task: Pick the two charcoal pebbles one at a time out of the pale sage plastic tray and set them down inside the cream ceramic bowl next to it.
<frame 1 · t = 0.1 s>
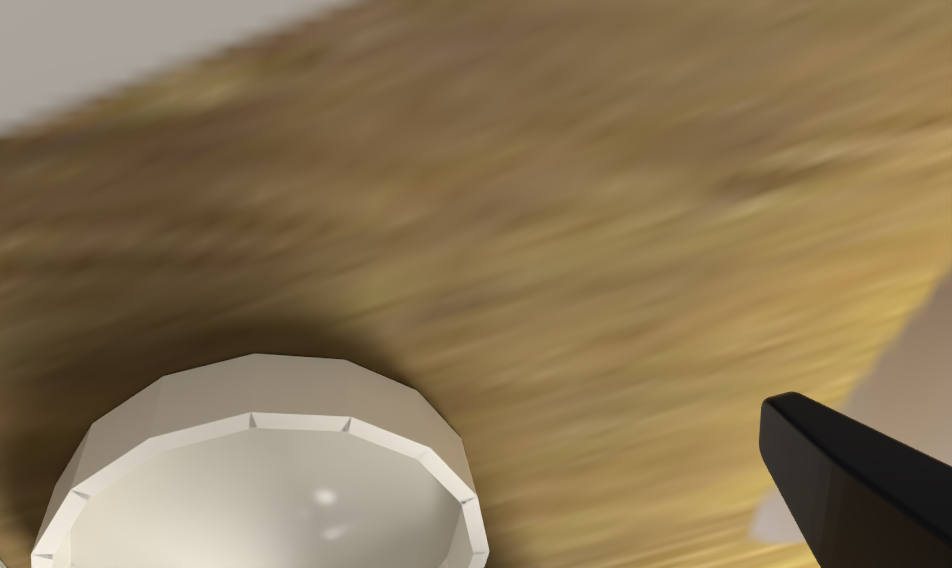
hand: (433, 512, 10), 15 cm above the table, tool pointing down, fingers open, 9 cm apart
bowl: (276, 517, 29), on the table
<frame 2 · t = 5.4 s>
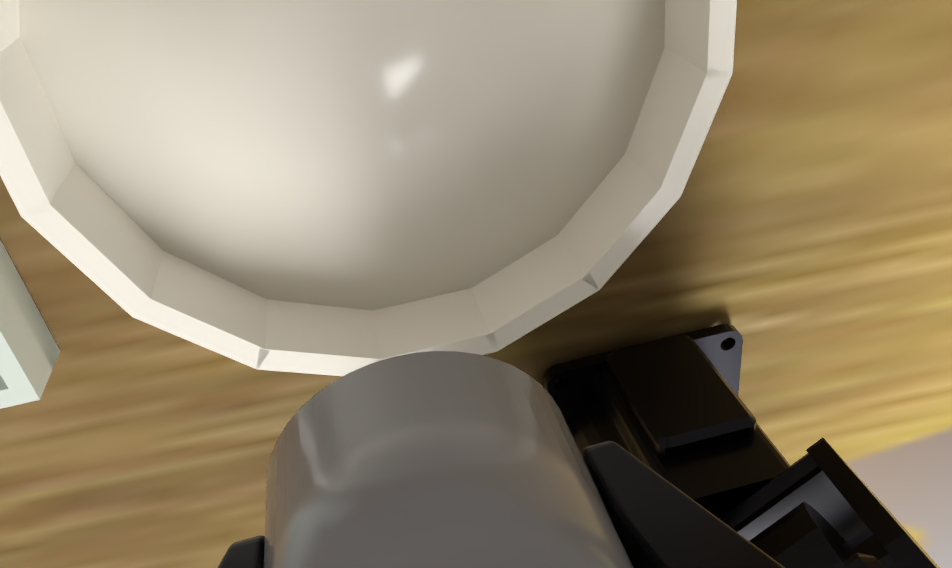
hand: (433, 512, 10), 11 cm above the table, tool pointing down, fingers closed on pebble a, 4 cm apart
bowl: (368, 34, 17), on the table
pebble a: (423, 475, 10), point 11 cm above the table, touching gripper
when the fingers open (3 cm above the table, at t = 7.4 s): pebble a drops 2 cm, resting on bowl.
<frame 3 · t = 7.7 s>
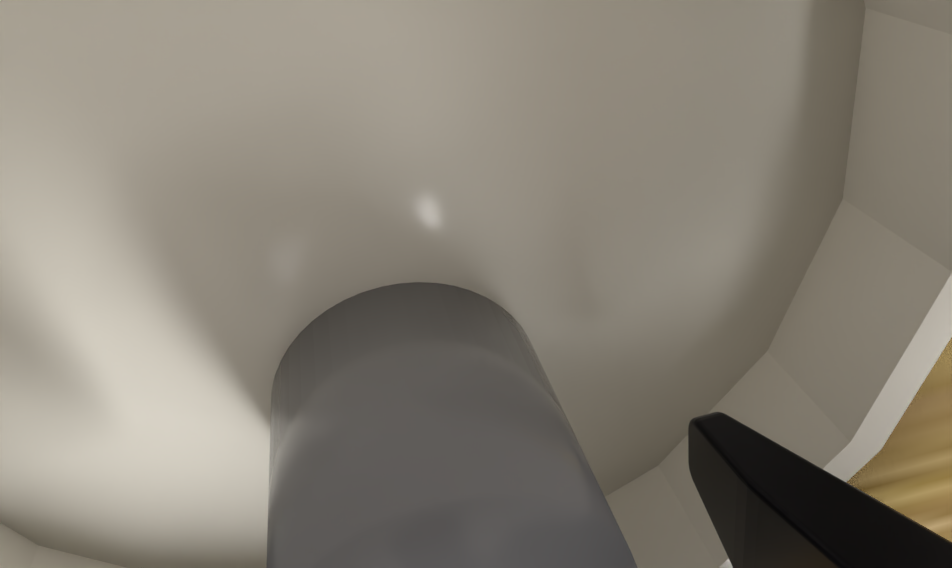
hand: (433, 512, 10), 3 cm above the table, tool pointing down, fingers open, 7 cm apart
bowl: (357, 200, 10), on the table
pebble a: (409, 397, 11), point 1 cm above the table, touching bowl
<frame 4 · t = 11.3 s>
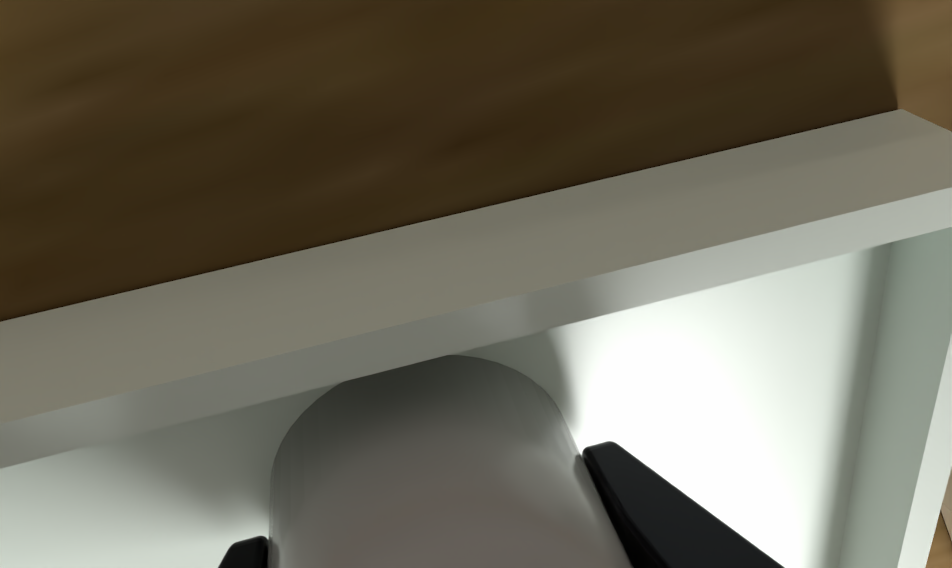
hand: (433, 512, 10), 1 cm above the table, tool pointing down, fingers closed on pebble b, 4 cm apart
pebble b: (425, 477, 10), point 1 cm above the table, touching gripper, tray
when the fingers open (3 cm above the table, at t = 15.6 s): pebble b drops 2 cm, resting on bowl.
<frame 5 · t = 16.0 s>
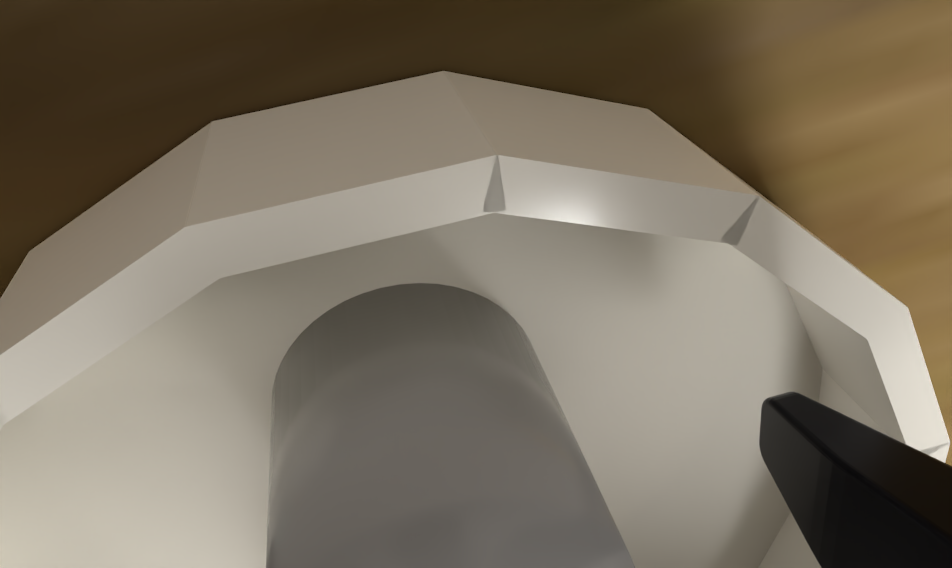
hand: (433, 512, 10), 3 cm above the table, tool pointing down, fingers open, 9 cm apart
bowl: (435, 496, 14), on the table
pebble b: (409, 398, 11), point 1 cm above the table, touching bowl
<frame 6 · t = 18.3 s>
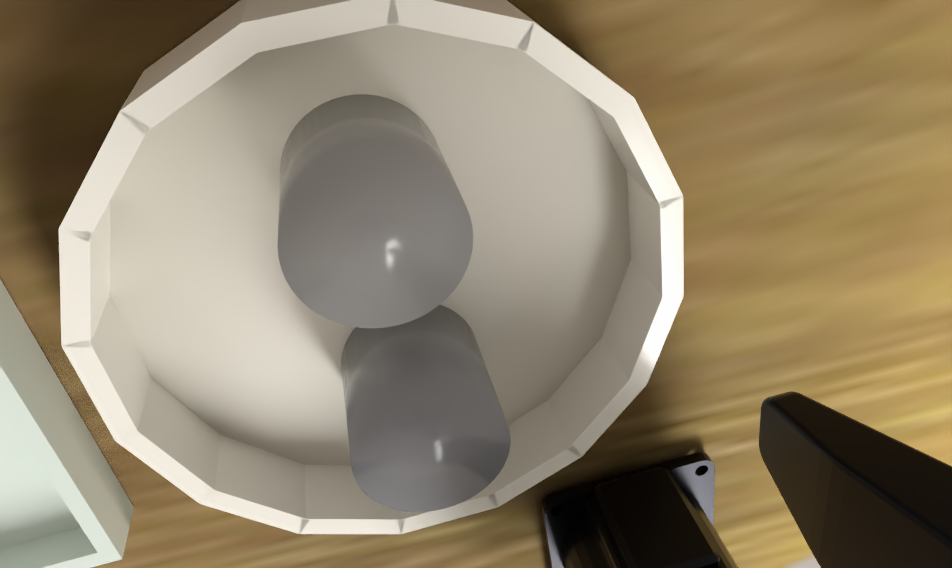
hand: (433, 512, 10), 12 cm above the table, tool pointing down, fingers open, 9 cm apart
bowl: (384, 260, 21), on the table
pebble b: (362, 173, 19), point 1 cm above the table, touching bowl
pebble a: (410, 359, 22), point 1 cm above the table, touching bowl
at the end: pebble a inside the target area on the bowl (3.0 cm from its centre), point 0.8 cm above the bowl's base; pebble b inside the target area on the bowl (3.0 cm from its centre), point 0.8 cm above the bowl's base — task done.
